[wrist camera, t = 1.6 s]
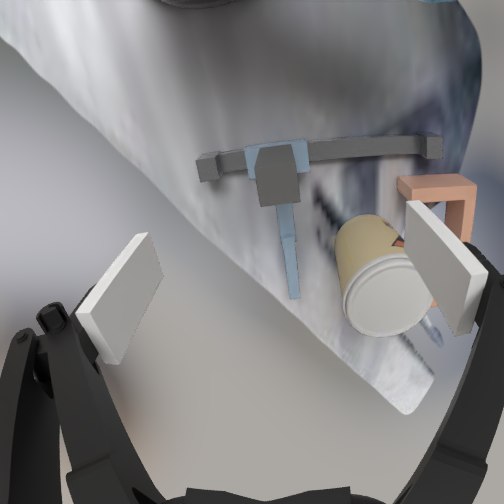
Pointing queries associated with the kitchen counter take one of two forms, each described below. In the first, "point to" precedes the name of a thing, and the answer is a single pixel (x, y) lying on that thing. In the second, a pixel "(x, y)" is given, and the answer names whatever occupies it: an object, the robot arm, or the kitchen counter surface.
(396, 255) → the coffee cup
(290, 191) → the pusher
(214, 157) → the rail
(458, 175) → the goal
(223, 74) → the kitchen counter surface
